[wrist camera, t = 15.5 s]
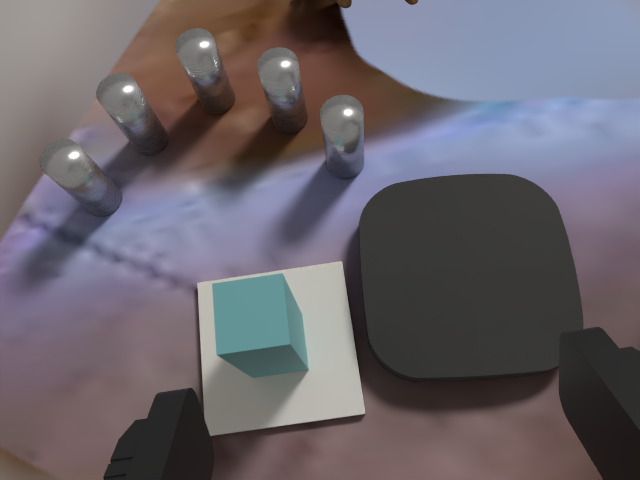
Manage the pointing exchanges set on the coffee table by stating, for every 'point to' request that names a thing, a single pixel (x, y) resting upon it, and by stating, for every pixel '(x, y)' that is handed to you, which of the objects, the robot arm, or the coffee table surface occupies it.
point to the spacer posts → (216, 98)
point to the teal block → (259, 326)
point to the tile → (296, 387)
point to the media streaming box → (466, 278)
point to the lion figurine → (345, 2)
